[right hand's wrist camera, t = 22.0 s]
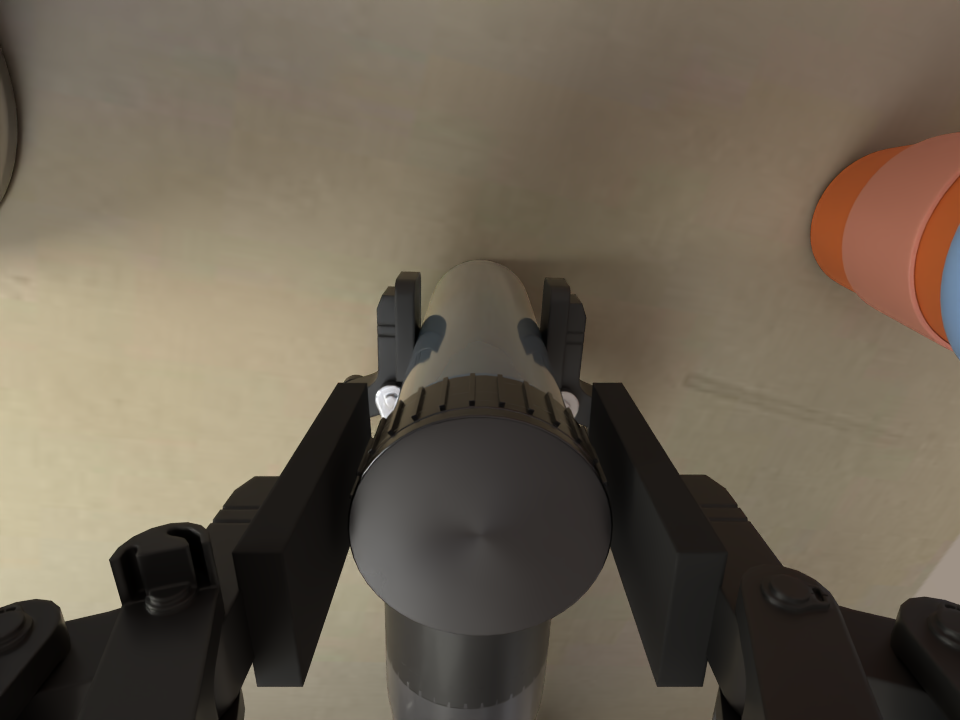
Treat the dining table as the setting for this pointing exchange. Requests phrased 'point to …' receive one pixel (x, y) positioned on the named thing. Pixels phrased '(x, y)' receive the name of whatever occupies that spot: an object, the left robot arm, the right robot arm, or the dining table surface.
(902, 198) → the cup with straw
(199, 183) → the dining table surface
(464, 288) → the blue-gray bottle
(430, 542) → the lid
